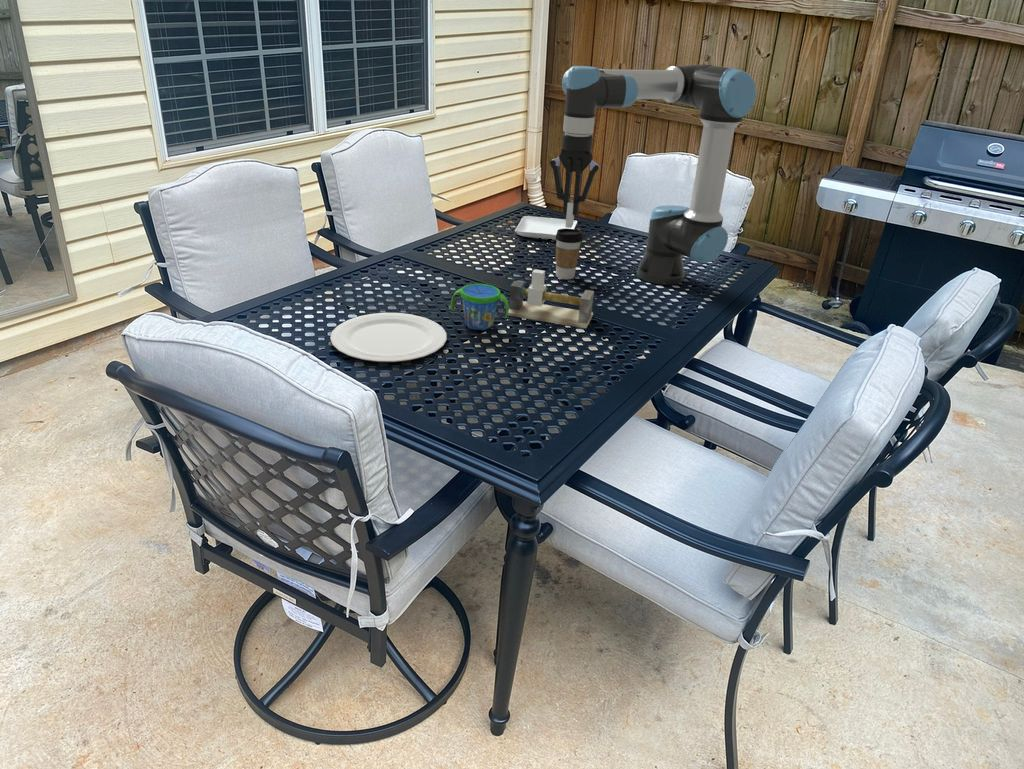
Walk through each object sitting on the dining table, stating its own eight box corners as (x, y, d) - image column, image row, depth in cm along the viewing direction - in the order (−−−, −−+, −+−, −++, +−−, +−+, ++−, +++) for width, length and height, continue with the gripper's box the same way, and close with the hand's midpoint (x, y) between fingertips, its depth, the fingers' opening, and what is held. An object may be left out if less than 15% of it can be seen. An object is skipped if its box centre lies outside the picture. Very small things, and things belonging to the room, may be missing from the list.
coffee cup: (568, 282, 232) (573, 236, 225) (546, 276, 236) (550, 230, 229) (583, 276, 238) (588, 230, 231) (561, 269, 242) (565, 225, 235)
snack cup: (512, 323, 202) (514, 288, 197) (500, 338, 193) (502, 302, 188) (459, 313, 206) (460, 279, 201) (444, 328, 197) (445, 292, 192)
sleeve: (545, 300, 209) (547, 269, 205) (540, 306, 205) (543, 275, 201) (531, 298, 210) (533, 267, 206) (527, 304, 206) (529, 273, 202)
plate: (396, 379, 170) (396, 372, 170) (305, 345, 183) (305, 338, 183) (469, 338, 193) (469, 331, 192) (383, 309, 206) (383, 303, 205)
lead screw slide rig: (593, 315, 210) (596, 289, 206) (586, 328, 202) (589, 302, 198) (515, 302, 215) (517, 277, 211) (505, 314, 207) (507, 288, 203)
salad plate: (513, 239, 270) (514, 229, 268) (523, 223, 288) (523, 214, 287) (571, 245, 267) (572, 236, 265) (577, 229, 286) (577, 220, 284)
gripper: (606, 134, 186) (596, 225, 197) (555, 128, 189) (548, 219, 200) (600, 138, 179) (590, 233, 191) (548, 133, 182) (541, 226, 194)
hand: (569, 226), depth 195 cm, fingers closed
